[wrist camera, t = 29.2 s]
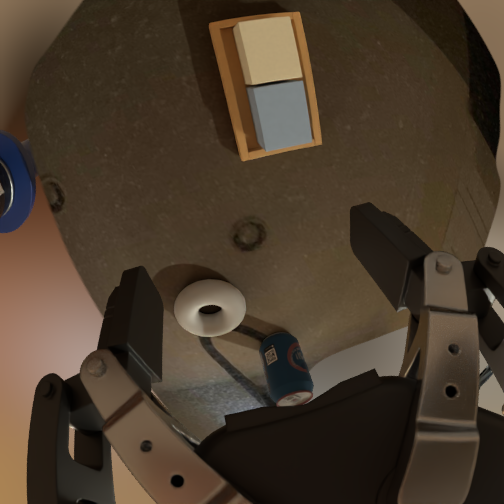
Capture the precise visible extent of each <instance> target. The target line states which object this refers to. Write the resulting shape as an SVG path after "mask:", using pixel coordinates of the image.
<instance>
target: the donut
mask: <svg viewBox="0 0 504 504" xmlns="http://www.w3.org/2000/svg"><path fill="white" fill-rule="evenodd" d="M205 305H217V306H220V307H221V308H222V309H221V310H220V311H219V312H217V313H214V314H204V313H201V312H199V311H198V310H199V309H200V308H201V307H203V306H205ZM245 312H246V303H245V299H244V297H243V295H242V294H241V292H240V291H239V290H238V289H237V288H236V287H234V286H233V285H231V284H230V283H227V282H224V281H221V280H214V279H207V280H201V281H197V282H194V283H192V284H190V285H188V286H187V287H185V288H184V289H183V290H182V291H181V292H180V293H179V295H178V296H177V298H176V300H175V303H174V314H175V317H176V319H177V321H178V323H179V324H180V325H181V326H182V327H183V328H184V329H185V330H187V331H189V332H191V333H193V334H195V335H199V336H208V337H213V336H219V335H223V334H225V333H228V332H230V331H231V330H233V329H234V328H236V327H237V326H238V325H239V324H240V323H241V321H242V320H243V318H244V315H245Z"/></svg>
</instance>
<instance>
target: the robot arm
mask: <svg viewBox="0 0 504 504" xmlns="http://www.w3.org/2000/svg"><path fill="white" fill-rule="evenodd" d="M14 197H15V184H14V179H13V176H12V173H11V170H10V168H9V167H8V165H7V164H6V162H5V161H4V160H3V159H2V158H1V157H0V218H1V217H2V216H3V215H5V214H6V213H7V212H8V211H9V209H10V208H11V206H12V204H13V201H14ZM350 243H351V247H352V250H353V253H354V254H355V256H356V257H357V258H358V260H359V261H360V262H361V264H362V265H363V266H364V268H365V269H366V270H367V271H368V273H369V274H370V275H371V277H372V278H373V279H374V281H375V282H376V283H377V285H378V286H379V288H380V289H381V290H382V292H383V293H384V294H385V296H386V297H387V299H388V300H389V301H390V303H391V304H392V306H393V307H394V308H395V310H396V311H397V312H399V311H402V310H404V309H406V308H408V309H409V310H410V316H409V323H408V332H407V339H406V347H405V354H404V359H403V364H402V367H401V370H400V373H399V376H382V377H379V376H378V374H377V372H376V370H375V369H372V370H370V371H367V372H365V373H363V374H360V375H358V376H355V377H353V378H350V379H348V380H345V381H342V382H340V383H339V384H337V385H336V386H334V387H332V388H331V389H329V390H328V391H326V392H325V393H323V394H322V395H320V396H318V397H317V398H315V399H314V400H312V401H310V402H309V403H307V404H304V405H293V406H274V407H260V408H256V409H252V410H247V411H243V412H239V413H234V414H229V415H224V416H225V422H226V425H225V426H223V427H221V428H219V429H217V430H216V431H214V432H213V433H211V434H210V435H209V436H207V437H206V438H205V439H204V440H203V441H200V440H199V439H198V438H197V437H196V436H195V435H193V434H192V433H191V432H190V431H189V430H188V429H186V428H185V427H184V426H183V425H182V424H181V423H180V422H179V421H178V420H177V419H176V418H175V417H174V416H173V415H172V414H171V412H170V411H169V410H168V409H167V408H166V407H165V406H164V405H163V404H162V403H161V402H160V401H159V400H158V398H157V397H156V396H155V395H154V394H153V393H152V392H151V383H157V382H162V339H163V312H164V308H163V302H162V299H161V296H160V294H159V292H158V291H157V289H156V287H155V285H154V284H153V282H152V280H151V278H150V276H149V274H148V273H147V271H146V269H145V268H144V267H143V266H138V267H135V268H132V269H128V270H125V271H124V272H123V274H122V278H121V282H120V286H117V287H115V289H114V290H113V292H112V293H111V295H110V296H109V298H108V302H107V306H106V310H105V315H104V319H103V323H102V328H101V332H100V338H99V342H98V347H97V350H96V351H94V352H92V353H90V354H89V355H88V356H87V357H86V358H85V360H84V361H83V363H82V365H81V368H80V373H79V374H77V375H75V376H73V377H71V378H69V379H67V380H65V381H64V380H63V379H62V378H60V377H59V376H58V375H57V374H54V373H51V374H48V375H46V376H44V377H43V378H42V379H41V380H40V382H39V383H38V385H37V387H36V390H35V395H34V401H33V407H32V414H31V422H30V430H29V440H28V455H27V501H28V504H116V502H115V496H114V485H113V475H112V460H111V445H112V447H113V449H114V450H115V451H116V453H117V454H118V456H119V457H120V459H121V460H122V461H123V463H124V464H125V466H126V467H127V468H128V470H129V471H130V472H131V473H132V475H133V476H134V477H135V479H136V480H137V481H138V482H139V484H140V485H141V486H142V487H143V488H144V490H145V491H146V492H147V493H148V494H149V496H150V497H151V498H152V499H153V500H154V501H155V502H156V503H157V504H504V416H501V415H499V414H496V413H494V412H491V411H488V410H486V409H483V408H481V407H478V396H479V350H480V351H481V353H482V355H483V356H484V358H485V360H486V361H487V363H488V365H489V366H490V368H491V370H492V372H493V373H494V375H495V377H496V379H497V381H498V382H499V384H500V386H501V388H502V390H503V392H504V323H503V322H502V320H501V319H500V317H499V316H498V315H497V313H496V312H495V311H494V309H493V308H492V305H493V303H494V301H495V299H497V300H498V301H499V303H500V304H501V305H502V307H503V308H504V254H503V253H502V252H501V251H499V250H497V249H495V248H492V247H484V248H481V249H480V250H479V251H478V254H477V257H476V260H474V261H464V262H460V261H459V260H458V258H456V257H455V256H454V255H452V254H450V253H448V252H444V251H434V252H433V251H432V250H431V249H430V248H429V247H428V246H427V245H426V244H425V243H424V242H423V241H422V240H421V239H420V238H419V237H418V236H417V235H416V234H414V233H413V232H412V231H410V229H409V228H408V227H407V226H406V225H405V226H404V224H403V223H402V222H401V221H400V220H399V219H398V218H397V217H395V216H393V215H391V214H389V213H386V212H381V211H380V210H379V209H378V208H376V207H375V206H374V205H373V204H372V203H370V202H368V203H364V204H360V205H357V206H353V207H351V209H350ZM502 414H503V415H504V405H503V406H502ZM69 426H70V427H71V428H73V429H75V438H74V439H75V441H74V460H73V459H72V458H71V456H70V454H69V449H68V444H69Z"/></svg>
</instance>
